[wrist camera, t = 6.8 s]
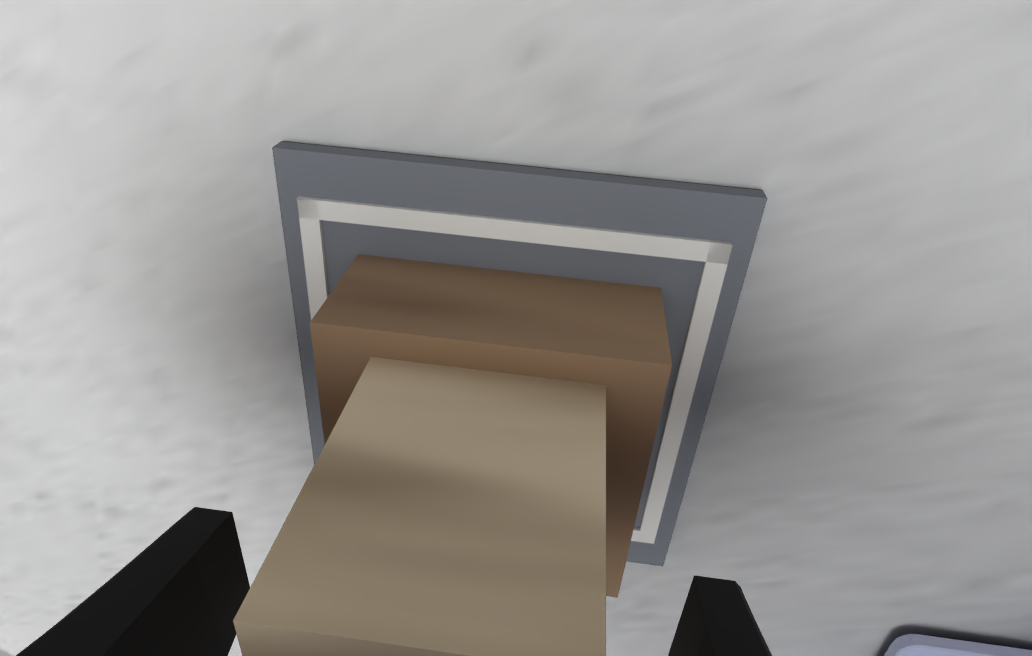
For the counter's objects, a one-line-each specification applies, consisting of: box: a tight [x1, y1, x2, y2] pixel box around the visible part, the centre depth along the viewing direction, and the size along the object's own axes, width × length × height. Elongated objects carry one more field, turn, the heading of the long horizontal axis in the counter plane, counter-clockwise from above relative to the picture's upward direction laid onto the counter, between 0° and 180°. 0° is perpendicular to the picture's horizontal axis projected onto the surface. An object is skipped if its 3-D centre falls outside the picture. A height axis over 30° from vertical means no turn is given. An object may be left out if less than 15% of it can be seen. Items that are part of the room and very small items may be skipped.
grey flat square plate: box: [272, 141, 767, 566], centre depth 15 cm, size 10×9×1 cm
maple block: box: [233, 357, 606, 656], centre depth 10 cm, size 4×4×5 cm
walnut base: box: [310, 254, 672, 597], centre depth 14 cm, size 6×6×3 cm
